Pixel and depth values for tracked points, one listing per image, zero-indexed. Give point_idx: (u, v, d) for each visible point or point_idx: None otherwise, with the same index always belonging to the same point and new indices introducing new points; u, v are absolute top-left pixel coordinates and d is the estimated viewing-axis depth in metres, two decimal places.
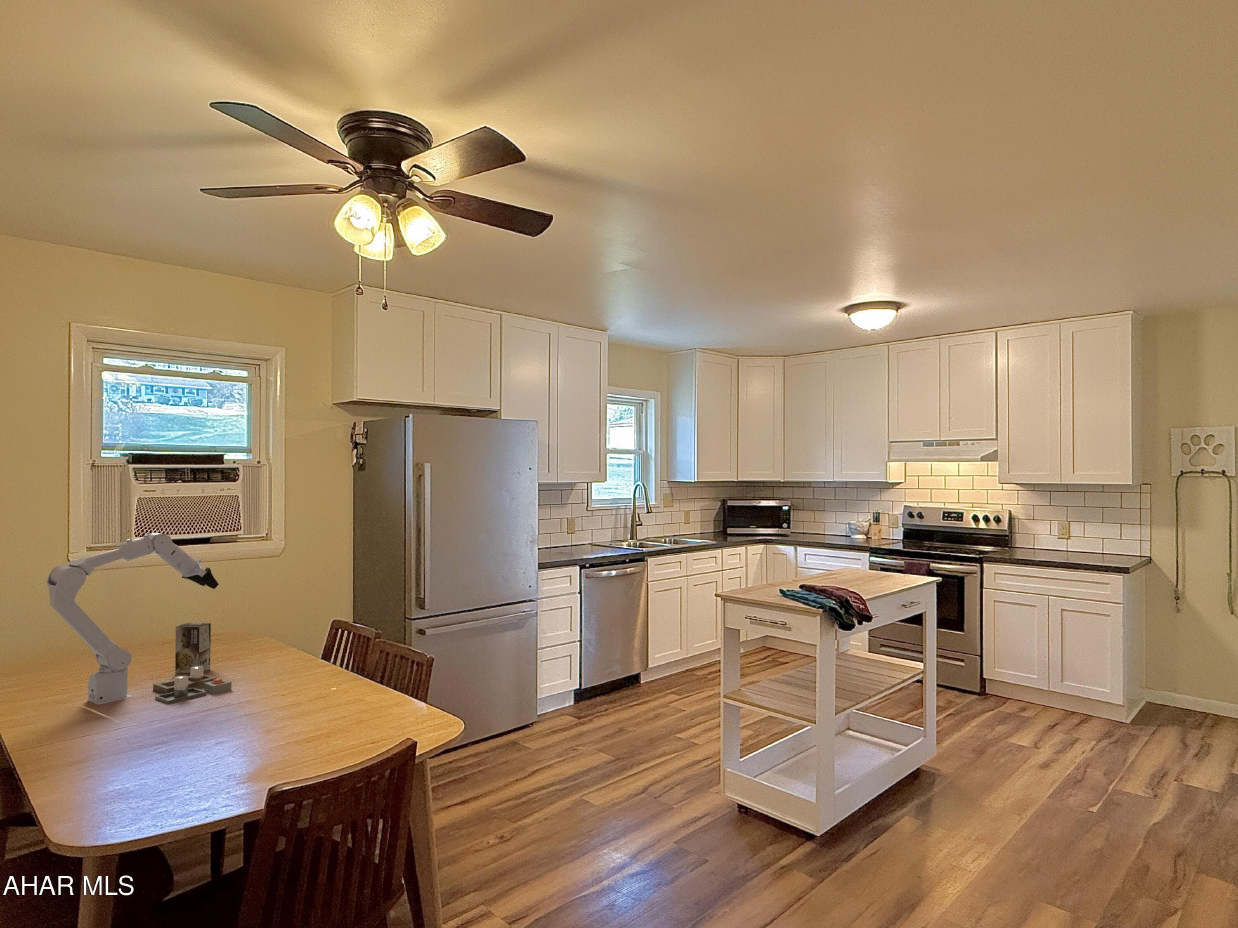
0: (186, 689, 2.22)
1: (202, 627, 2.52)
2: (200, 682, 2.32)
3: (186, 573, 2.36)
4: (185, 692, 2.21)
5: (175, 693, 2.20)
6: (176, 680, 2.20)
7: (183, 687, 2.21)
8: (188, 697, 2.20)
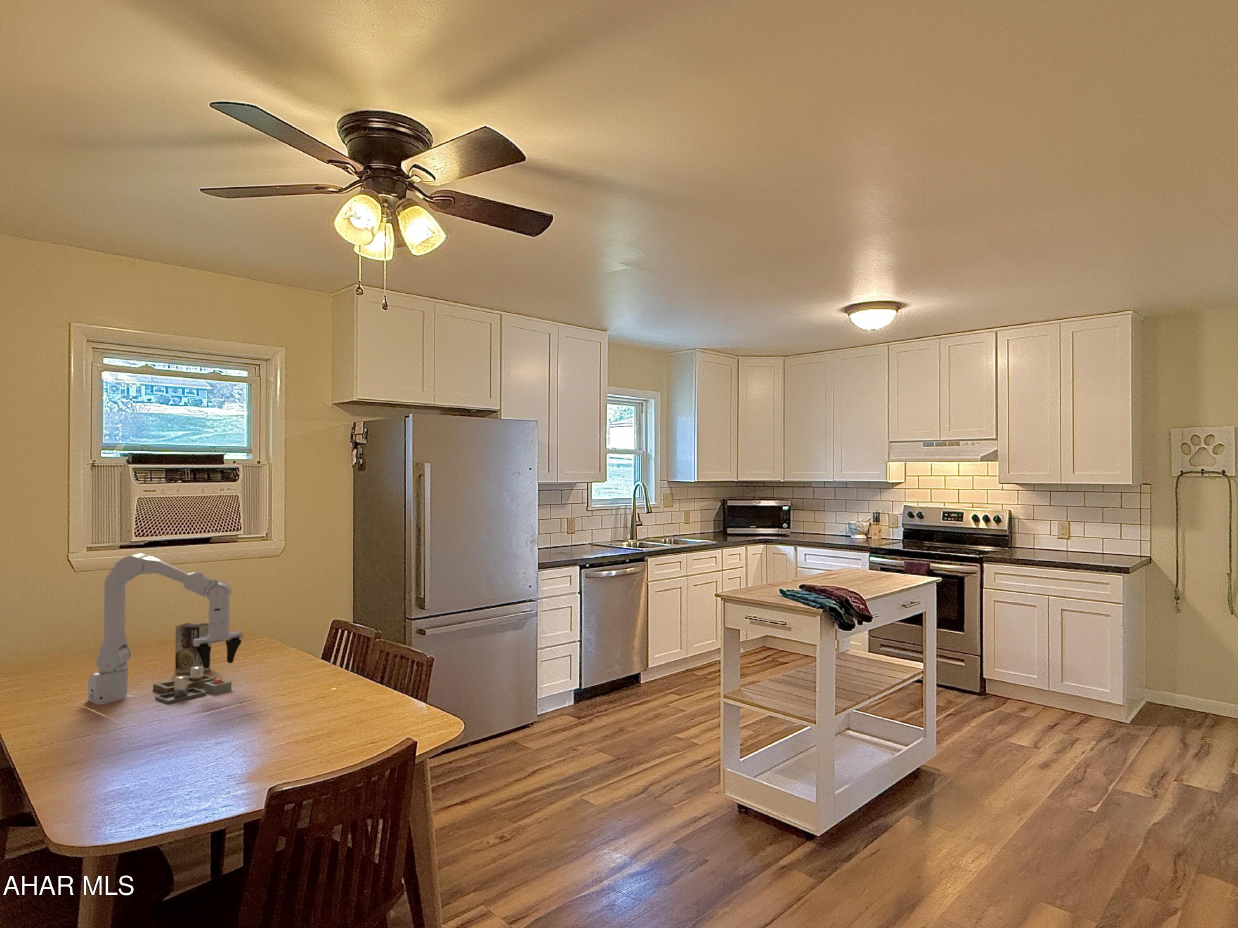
0: (186, 689, 2.22)
1: (202, 627, 2.52)
2: (200, 682, 2.32)
3: None
4: (185, 692, 2.21)
5: (175, 693, 2.20)
6: (176, 680, 2.20)
7: (183, 687, 2.21)
8: (188, 697, 2.20)
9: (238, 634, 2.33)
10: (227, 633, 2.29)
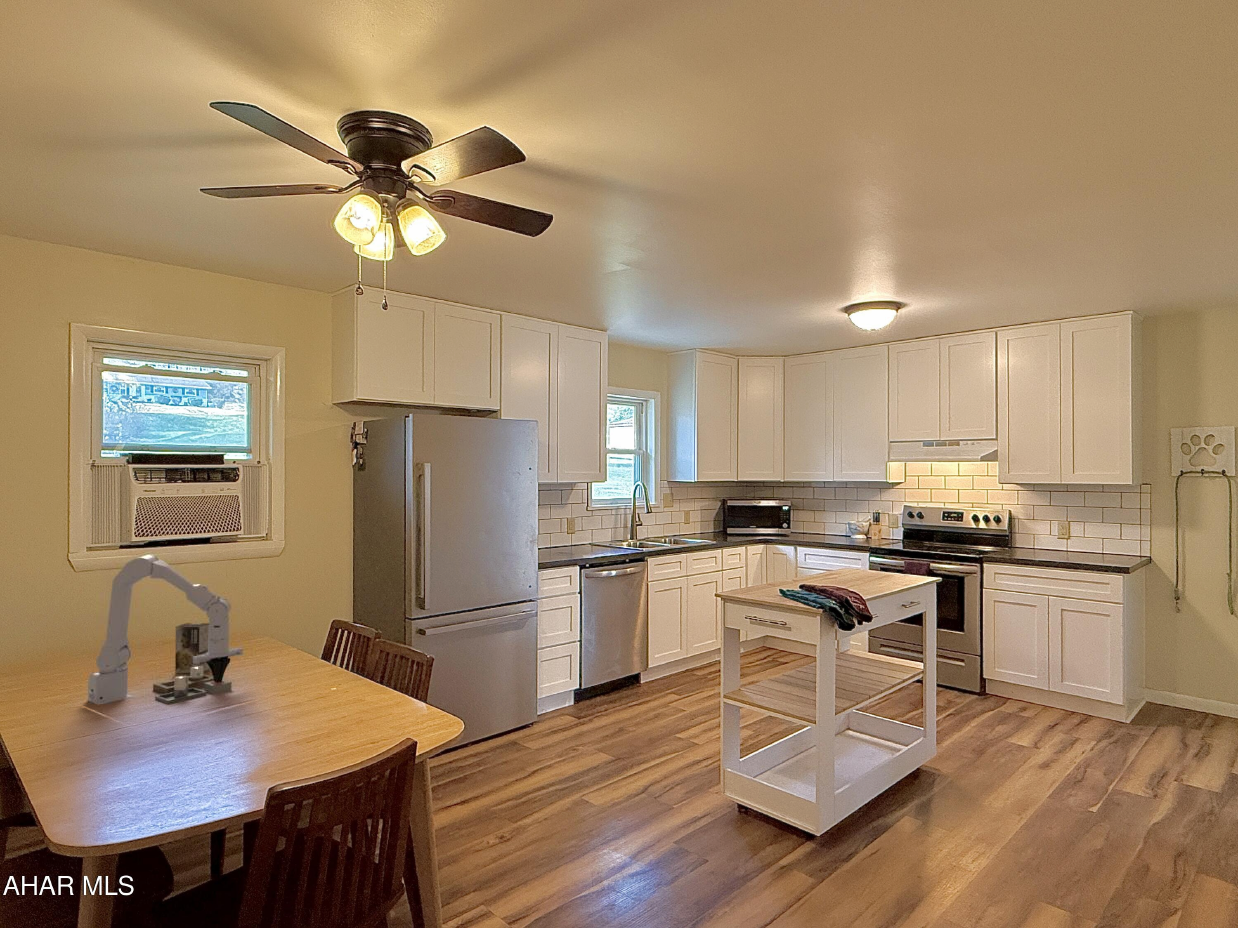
0: (186, 689, 2.22)
1: (202, 627, 2.52)
2: (200, 682, 2.32)
3: None
4: (185, 692, 2.21)
5: (175, 693, 2.20)
6: (176, 680, 2.20)
7: (183, 687, 2.21)
8: (188, 697, 2.20)
9: (238, 650, 2.33)
10: (227, 650, 2.29)
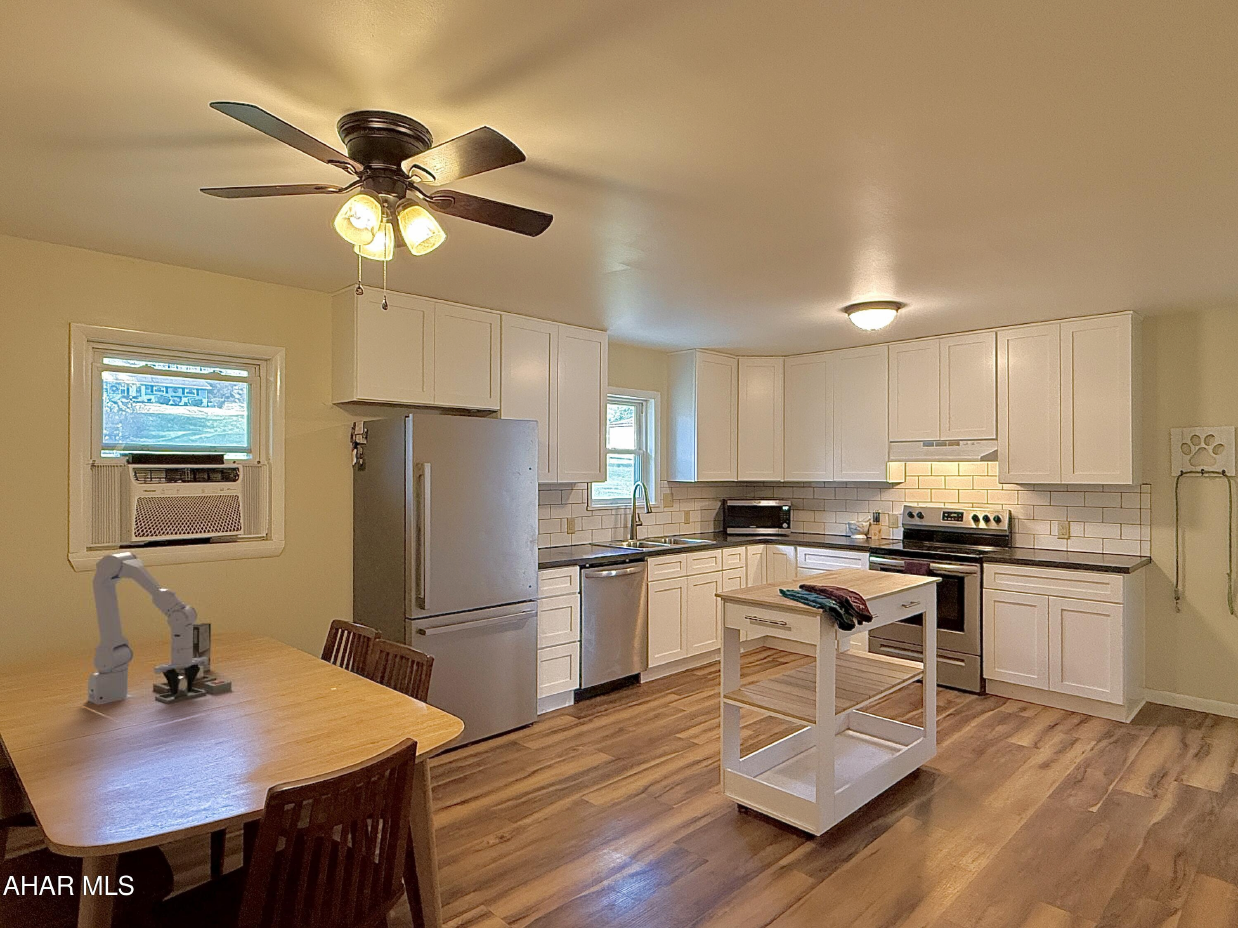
0: (186, 689, 2.22)
1: (202, 627, 2.52)
2: (200, 682, 2.32)
3: None
4: (185, 692, 2.21)
5: None
6: None
7: (183, 687, 2.21)
8: (188, 697, 2.20)
9: (202, 660, 2.26)
10: (190, 659, 2.22)
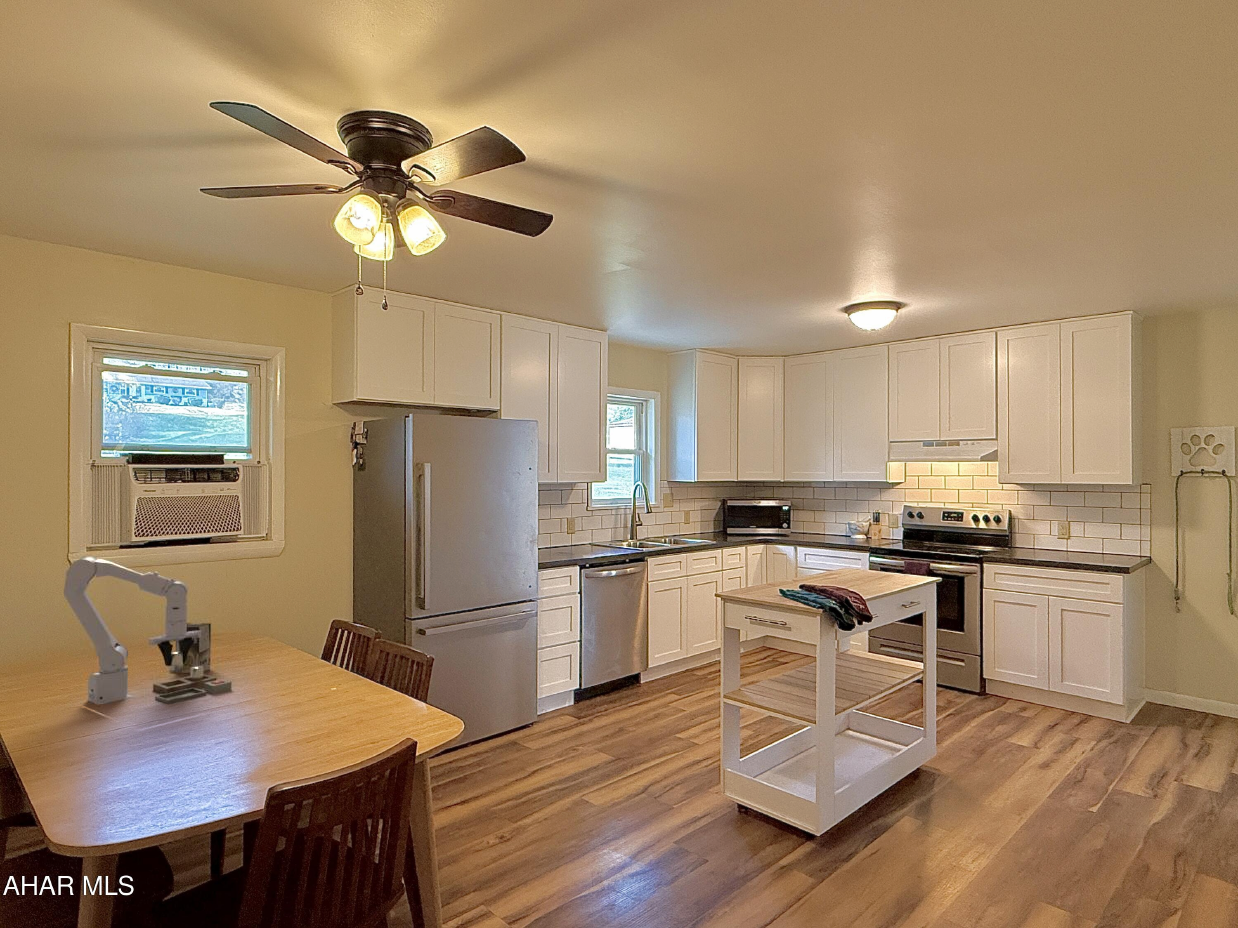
0: (180, 665, 2.28)
1: (202, 627, 2.52)
2: (200, 682, 2.32)
3: None
4: (179, 667, 2.27)
5: (170, 668, 2.27)
6: (171, 655, 2.26)
7: (177, 663, 2.27)
8: (188, 697, 2.20)
9: (196, 633, 2.32)
10: (184, 632, 2.28)
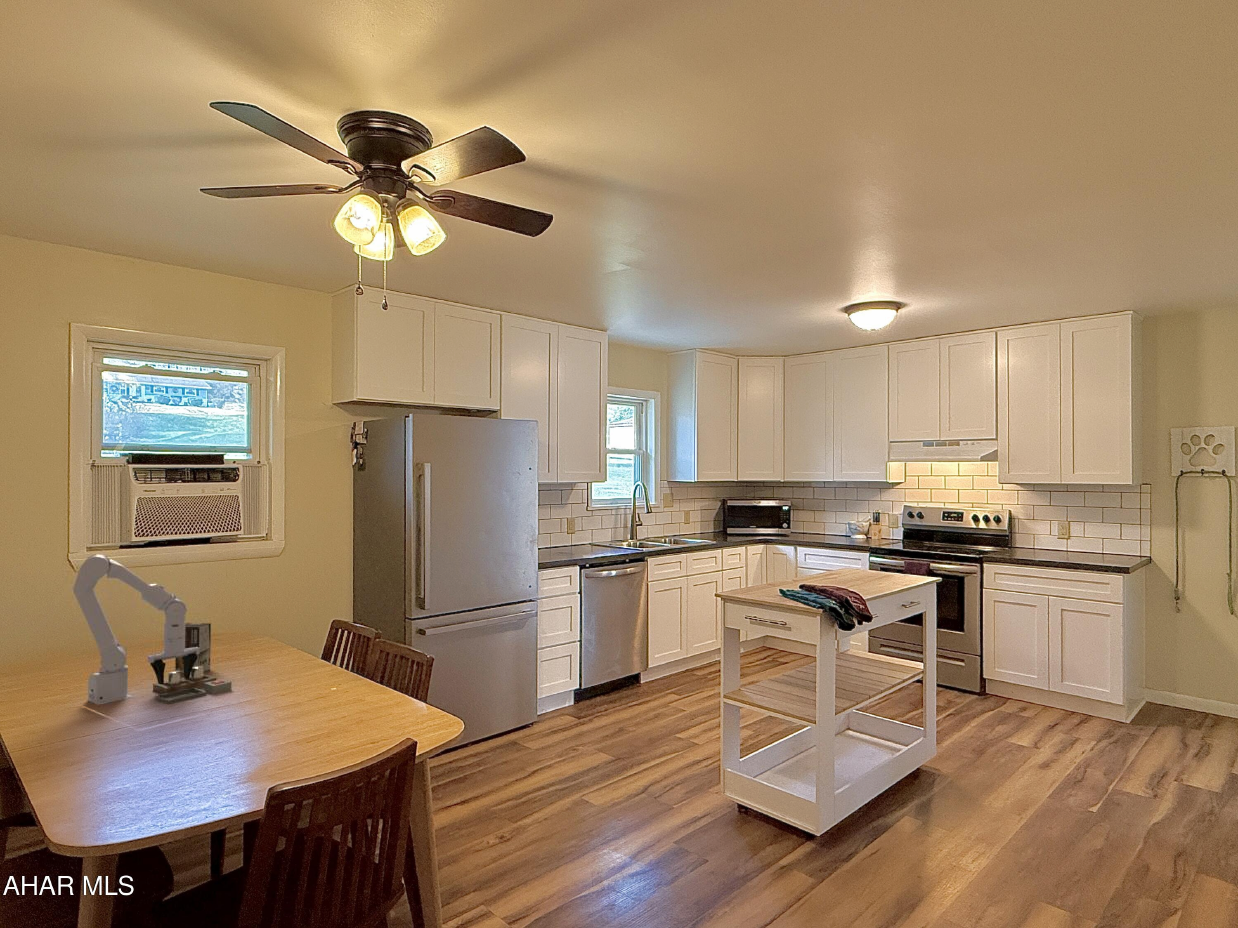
0: None
1: (202, 627, 2.52)
2: (200, 682, 2.32)
3: None
4: None
5: None
6: (169, 675, 2.28)
7: (175, 682, 2.28)
8: (188, 697, 2.20)
9: (194, 650, 2.34)
10: (183, 649, 2.30)
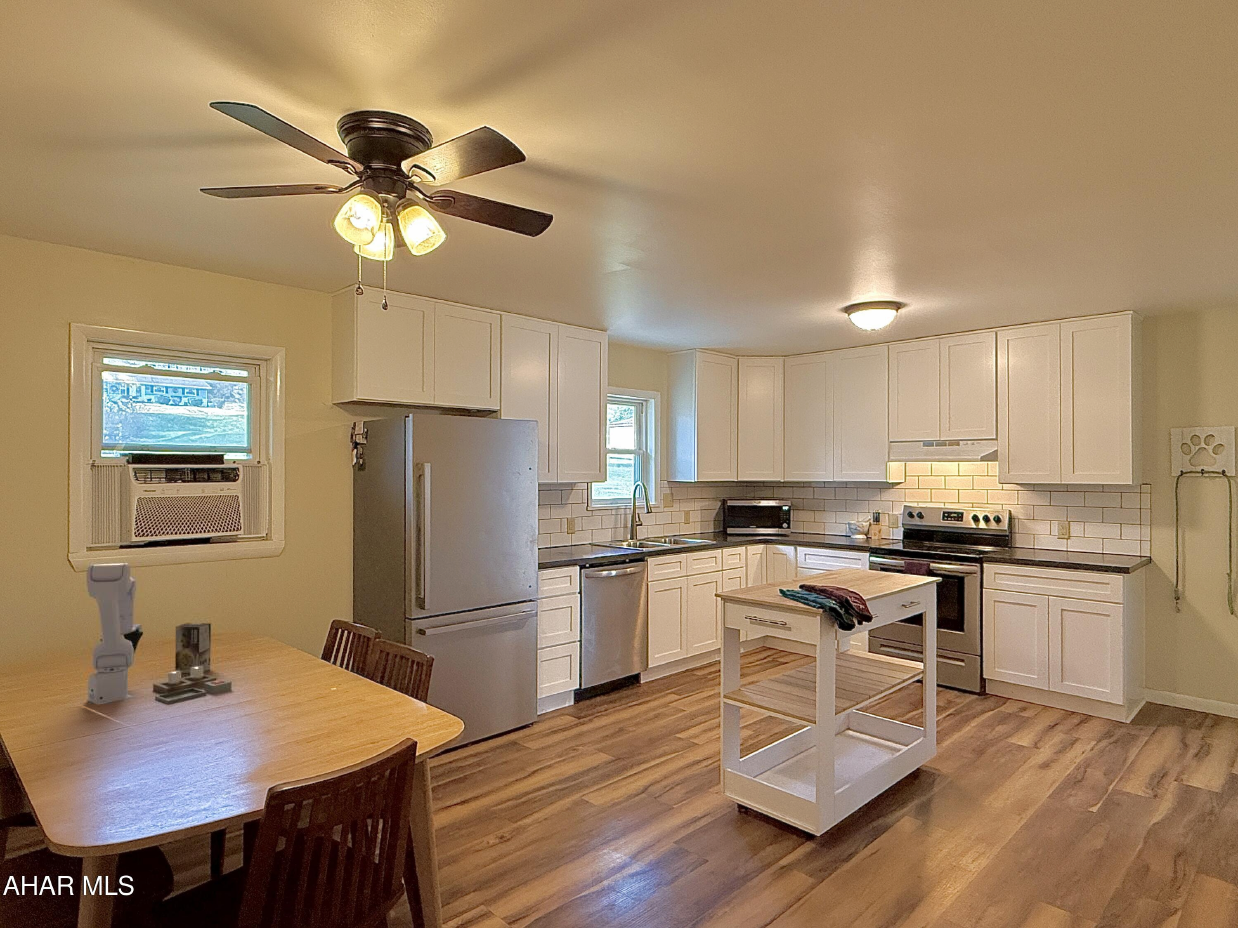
0: None
1: (202, 627, 2.52)
2: (200, 682, 2.32)
3: None
4: None
5: None
6: (169, 675, 2.28)
7: (175, 682, 2.28)
8: (188, 697, 2.20)
9: (138, 626, 2.39)
10: (132, 625, 2.35)
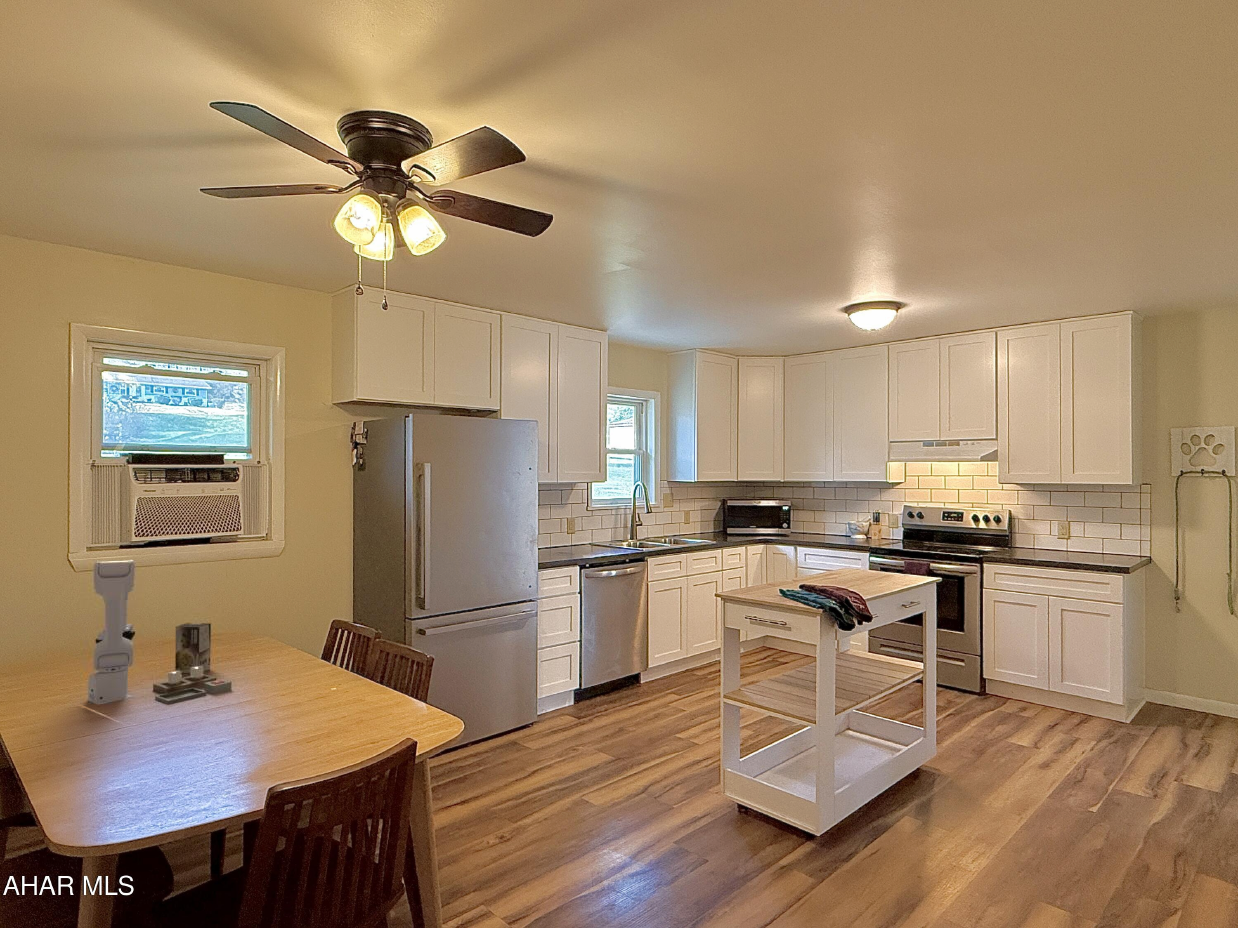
0: None
1: (202, 627, 2.52)
2: (200, 682, 2.32)
3: None
4: None
5: None
6: (169, 675, 2.28)
7: (175, 682, 2.28)
8: (188, 697, 2.20)
9: (130, 626, 2.40)
10: (126, 625, 2.36)
